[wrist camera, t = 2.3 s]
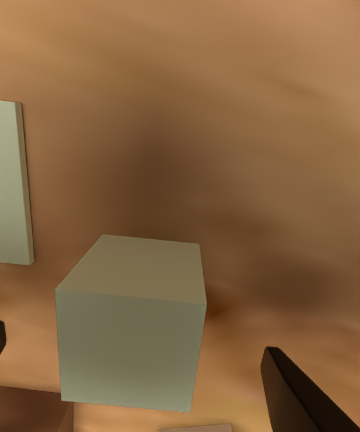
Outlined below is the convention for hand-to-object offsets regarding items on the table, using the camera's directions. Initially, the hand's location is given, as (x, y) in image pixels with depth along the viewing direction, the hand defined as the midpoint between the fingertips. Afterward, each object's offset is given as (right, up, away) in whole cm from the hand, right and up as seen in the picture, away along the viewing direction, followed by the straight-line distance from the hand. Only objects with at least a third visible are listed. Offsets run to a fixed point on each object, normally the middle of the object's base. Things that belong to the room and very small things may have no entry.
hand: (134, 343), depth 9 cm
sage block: (0, +1, +4) cm, 4 cm away
